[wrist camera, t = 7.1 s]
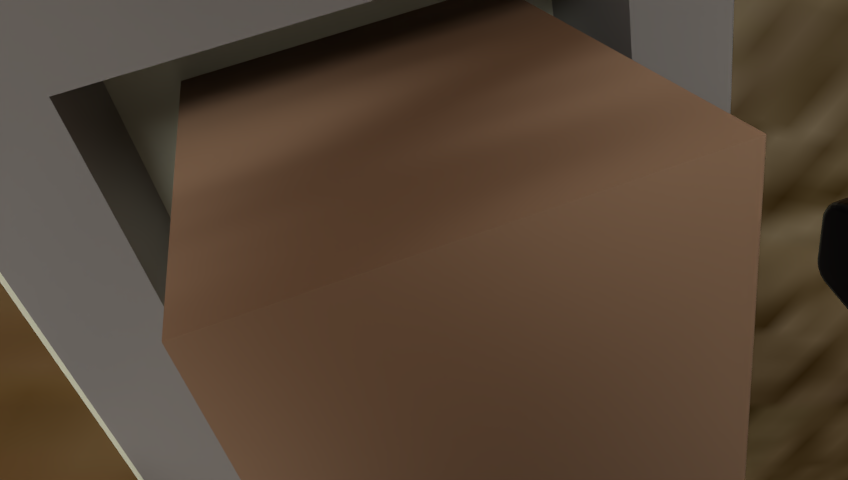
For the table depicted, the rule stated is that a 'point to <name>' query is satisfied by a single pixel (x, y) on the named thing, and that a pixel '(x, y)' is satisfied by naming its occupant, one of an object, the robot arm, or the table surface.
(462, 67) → the walnut block
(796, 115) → the table surface
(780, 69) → the table surface
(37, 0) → the socket board
